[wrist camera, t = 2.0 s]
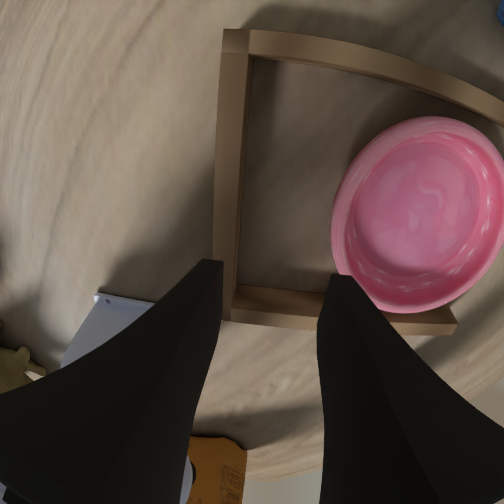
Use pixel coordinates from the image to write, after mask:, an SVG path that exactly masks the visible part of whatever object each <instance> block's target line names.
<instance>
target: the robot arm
mask: <svg viewBox="0 0 504 504" xmlns="http://www.w3.org/2000/svg"><path fill="white" fill-rule="evenodd" d="M223 273H224V261H219V260H210V259H202V260H201V261H199V262H198V263H197V264H196V265H195V266H194V267H193V268H192V269H191V270H190V271H189V272H188V273H187V274H186V275H185V276H184V277H183V278H182V279H181V280H180V281H179V282H178V283H177V284H176V285H175V286H174V287H173V288H172V289H171V290H170V291H168V292H167V293H166V294H165V295H164V296H163V297H162V298H161V299H160V300H159V301H158V302H156V303H150V302H145V301H139V300H134V299H128V298H123V297H118V296H113V295H108V294H103V293H96V294H95V295H94V300H95V303H96V304H95V305H94V307H93V308H92V310H91V311H90V313H89V314H88V316H87V317H86V319H85V321H84V322H83V324H82V325H81V327H80V328H79V330H78V331H77V333H76V334H75V336H74V338H73V339H72V341H71V342H70V344H69V346H68V347H67V349H66V351H65V353H64V356H63V358H62V362H61V366H60V369H59V370H57V371H55V372H53V373H51V374H49V375H46V376H44V377H42V378H40V379H38V380H35V381H33V382H31V383H28V384H26V385H24V386H21V387H18V388H16V389H13V390H10V391H7V392H4V393H1V394H0V504H186V502H187V499H188V497H189V494H190V490H191V486H192V478H193V472H192V466H191V463H190V461H189V457H188V455H187V453H188V447H189V441H190V436H191V431H192V426H193V421H194V416H195V412H196V408H197V405H198V401H199V398H200V395H201V392H202V389H203V385H204V382H205V379H206V376H207V373H208V370H209V366H210V363H211V360H212V357H213V354H214V350H215V347H216V344H217V340H218V335H219V329H220V324H221V319H222V312H223ZM317 360H318V368H319V377H320V385H321V394H322V404H323V413H324V457H323V472H322V484H321V493H320V501H319V504H494V503H496V502H498V501H500V500H501V499H503V498H504V428H503V427H502V426H500V425H498V424H497V423H495V422H494V421H493V420H491V419H490V418H489V417H487V416H486V415H484V414H483V413H481V412H480V411H479V410H477V409H476V408H475V407H474V406H472V405H471V404H470V403H469V402H467V401H466V400H465V399H464V398H463V397H462V396H460V395H459V394H458V393H457V392H456V391H455V390H453V389H452V388H451V387H450V386H449V385H448V384H447V383H446V382H444V381H443V380H442V379H441V378H440V377H439V376H438V375H437V374H436V373H435V372H434V371H433V370H432V369H431V368H430V367H429V366H428V365H427V364H426V363H425V362H424V361H423V360H422V359H421V358H420V357H419V356H418V355H417V354H416V353H415V351H414V350H413V349H412V348H411V347H410V346H409V345H408V344H407V342H406V341H405V340H404V339H403V338H402V337H401V336H400V334H399V333H398V332H397V331H396V330H395V329H394V327H393V326H392V325H391V324H390V323H389V321H388V320H387V319H386V318H385V316H384V315H383V314H382V313H381V311H380V310H379V309H378V308H377V306H376V305H375V304H374V303H373V301H372V300H371V299H370V298H369V296H368V295H367V294H366V292H365V291H364V290H363V289H362V287H361V286H360V285H359V284H358V282H357V281H356V280H355V279H354V278H353V277H352V276H351V275H342V274H331V278H330V281H329V285H328V288H327V292H326V295H325V298H324V302H323V305H322V308H321V312H320V315H319V318H318V321H317Z"/></svg>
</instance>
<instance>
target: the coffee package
mask: <svg viewBox="0 0 504 504" xmlns="http://www.w3.org/2000/svg"><path fill="white" fill-rule="evenodd" d="M187 455H188V457H189V461H190V463H191V466H192V472H193V478H192V486H191V490H190V494H189V497H188V499H187V502H186V504H242V498H243V489H244V482H245V472H246V463H247V451H246V450H242V449H241V448H240V447H239V446H238V445H237V444H236V443H235V442H233V441H231V440H228V439H227V438H223V437H222V438H211V437H196V436H190V441H189V447H188V453H187Z"/></svg>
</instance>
